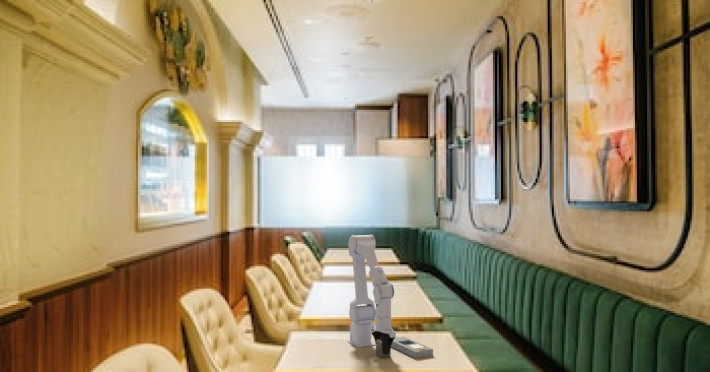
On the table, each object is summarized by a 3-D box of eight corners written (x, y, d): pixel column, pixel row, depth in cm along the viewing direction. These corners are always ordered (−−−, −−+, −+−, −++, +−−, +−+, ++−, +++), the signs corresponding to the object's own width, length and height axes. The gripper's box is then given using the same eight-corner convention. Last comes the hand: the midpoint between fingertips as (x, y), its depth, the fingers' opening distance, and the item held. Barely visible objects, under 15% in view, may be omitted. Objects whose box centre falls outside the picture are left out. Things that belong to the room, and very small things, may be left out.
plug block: (375, 355, 199) (375, 339, 199) (385, 354, 201) (385, 338, 201) (381, 358, 196) (381, 342, 196) (390, 356, 197) (390, 340, 198)
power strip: (387, 345, 213) (387, 337, 213) (403, 342, 217) (403, 335, 217) (415, 358, 195) (415, 350, 196) (433, 355, 199) (433, 347, 199)
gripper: (364, 313, 203) (364, 348, 203) (384, 321, 190) (384, 359, 190) (380, 311, 206) (380, 346, 206) (400, 319, 194) (400, 356, 193)
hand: (383, 352), depth 198 cm, fingers closed on plug block, 4 cm apart
